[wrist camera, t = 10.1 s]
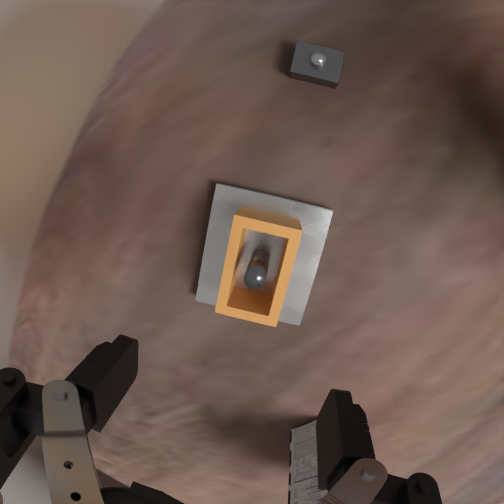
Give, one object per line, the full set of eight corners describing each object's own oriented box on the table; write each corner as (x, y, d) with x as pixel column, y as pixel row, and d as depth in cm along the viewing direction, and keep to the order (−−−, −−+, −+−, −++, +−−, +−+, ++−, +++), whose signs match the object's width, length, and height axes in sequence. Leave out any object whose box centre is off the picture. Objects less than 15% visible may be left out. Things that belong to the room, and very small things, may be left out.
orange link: (300, 220, 26) (302, 230, 22) (277, 305, 29) (276, 326, 25) (241, 206, 26) (234, 214, 23) (224, 292, 29) (214, 312, 25)
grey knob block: (341, 59, 23) (346, 49, 20) (335, 88, 24) (340, 81, 21) (296, 48, 23) (297, 37, 21) (289, 77, 24) (290, 68, 21)
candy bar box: (358, 455, 35) (372, 553, 20) (326, 467, 36) (331, 563, 21) (324, 413, 33) (333, 532, 18) (288, 428, 35) (282, 542, 19)
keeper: (331, 208, 27) (343, 222, 21) (299, 319, 30) (301, 355, 24) (219, 182, 27) (200, 188, 21) (198, 295, 31) (179, 326, 25)
